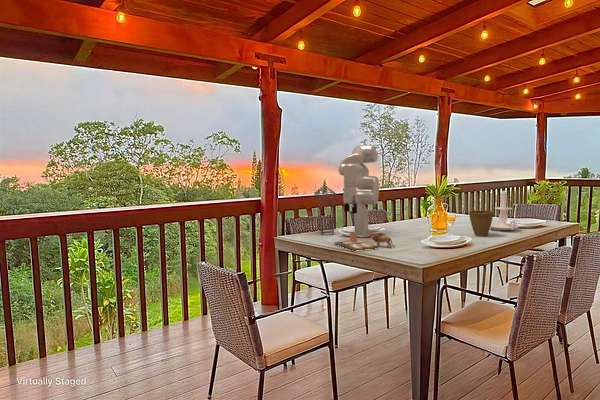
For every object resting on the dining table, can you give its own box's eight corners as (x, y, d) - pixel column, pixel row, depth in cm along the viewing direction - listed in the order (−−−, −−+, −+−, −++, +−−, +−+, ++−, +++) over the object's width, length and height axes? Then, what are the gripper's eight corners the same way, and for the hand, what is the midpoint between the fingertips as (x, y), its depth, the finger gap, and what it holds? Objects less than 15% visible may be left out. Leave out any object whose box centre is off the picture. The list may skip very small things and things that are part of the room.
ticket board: (356, 241, 263) (356, 238, 263) (377, 249, 241) (377, 245, 241) (334, 244, 257) (334, 241, 256) (354, 252, 235) (354, 248, 234)
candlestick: (500, 234, 274) (501, 192, 271) (481, 228, 298) (482, 190, 295) (529, 232, 275) (530, 191, 272) (508, 226, 300) (509, 189, 297)
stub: (359, 241, 256) (359, 230, 255) (363, 242, 251) (363, 232, 250) (342, 243, 251) (342, 232, 250) (346, 244, 247) (346, 233, 246)
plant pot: (488, 233, 278) (488, 210, 276) (496, 237, 263) (496, 213, 262) (465, 233, 280) (465, 210, 278) (472, 237, 265) (473, 213, 263)
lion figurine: (369, 247, 246) (369, 232, 246) (372, 245, 251) (371, 231, 250) (394, 248, 240) (394, 233, 240) (396, 246, 245) (395, 232, 244)
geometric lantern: (338, 235, 287) (336, 186, 283) (316, 236, 288) (313, 187, 284) (337, 231, 303) (334, 184, 299) (316, 232, 303) (313, 185, 299)
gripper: (338, 184, 253) (339, 211, 255) (351, 185, 237) (351, 214, 239) (349, 183, 256) (349, 210, 257) (362, 185, 239) (363, 213, 241)
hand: (350, 212), depth 248 cm, fingers open, 9 cm apart
